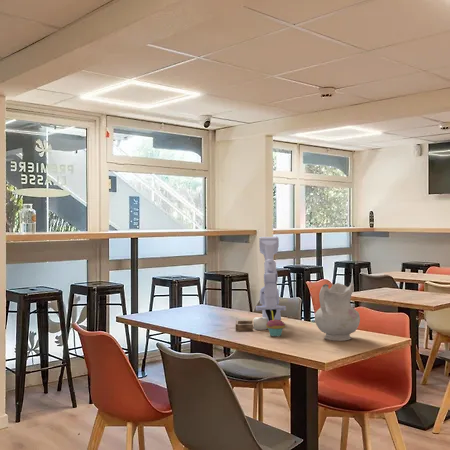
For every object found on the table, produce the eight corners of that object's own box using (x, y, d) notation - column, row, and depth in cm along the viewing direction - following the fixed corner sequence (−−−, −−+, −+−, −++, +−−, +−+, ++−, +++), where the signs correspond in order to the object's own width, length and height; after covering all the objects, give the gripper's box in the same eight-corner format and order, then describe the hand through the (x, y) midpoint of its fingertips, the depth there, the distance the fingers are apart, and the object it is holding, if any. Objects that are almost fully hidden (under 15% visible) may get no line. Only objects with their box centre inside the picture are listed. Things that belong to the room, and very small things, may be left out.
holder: (252, 326, 278) (252, 320, 278) (252, 330, 267) (252, 324, 267) (235, 326, 278) (235, 320, 278) (235, 330, 267) (235, 324, 267)
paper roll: (267, 327, 276) (267, 316, 276) (268, 329, 269) (267, 319, 269) (253, 327, 276) (253, 316, 276) (253, 329, 269) (253, 319, 269)
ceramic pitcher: (347, 348, 233) (351, 288, 232) (303, 339, 244) (307, 282, 243) (364, 339, 252) (368, 283, 251) (323, 331, 262) (326, 278, 261)
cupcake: (272, 337, 250) (272, 310, 250) (262, 334, 258) (262, 308, 258) (288, 335, 254) (288, 309, 254) (278, 332, 262) (278, 306, 262)
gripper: (256, 298, 268) (256, 326, 268) (286, 298, 268) (286, 326, 268) (255, 296, 275) (255, 324, 275) (285, 296, 275) (285, 324, 275)
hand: (270, 325), depth 272 cm, fingers closed
